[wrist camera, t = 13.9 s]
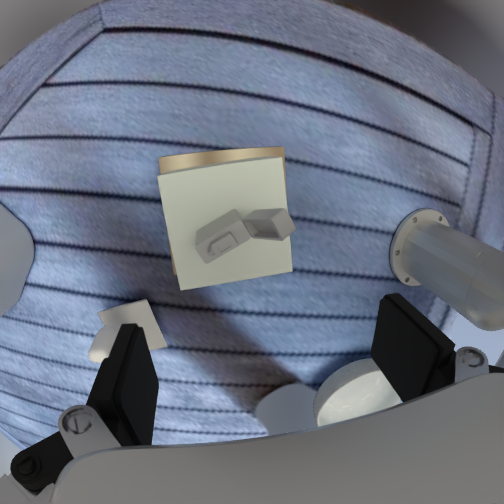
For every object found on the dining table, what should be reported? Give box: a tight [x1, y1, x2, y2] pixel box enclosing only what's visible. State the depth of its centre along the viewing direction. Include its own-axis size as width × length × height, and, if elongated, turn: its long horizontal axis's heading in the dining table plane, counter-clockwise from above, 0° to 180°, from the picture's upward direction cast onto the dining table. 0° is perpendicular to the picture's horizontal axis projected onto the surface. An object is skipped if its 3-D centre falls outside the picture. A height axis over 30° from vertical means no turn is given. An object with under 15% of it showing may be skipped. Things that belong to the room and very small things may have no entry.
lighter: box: [195, 208, 296, 264], centre depth 23 cm, size 7×2×8 cm, turn 119°
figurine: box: [88, 299, 168, 363], centre depth 32 cm, size 7×9×15 cm
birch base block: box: [159, 147, 286, 275], centre depth 34 cm, size 13×13×5 cm
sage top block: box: [157, 156, 293, 290], centre depth 30 cm, size 11×11×5 cm
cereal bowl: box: [313, 358, 401, 427], centre depth 47 cm, size 17×17×7 cm
